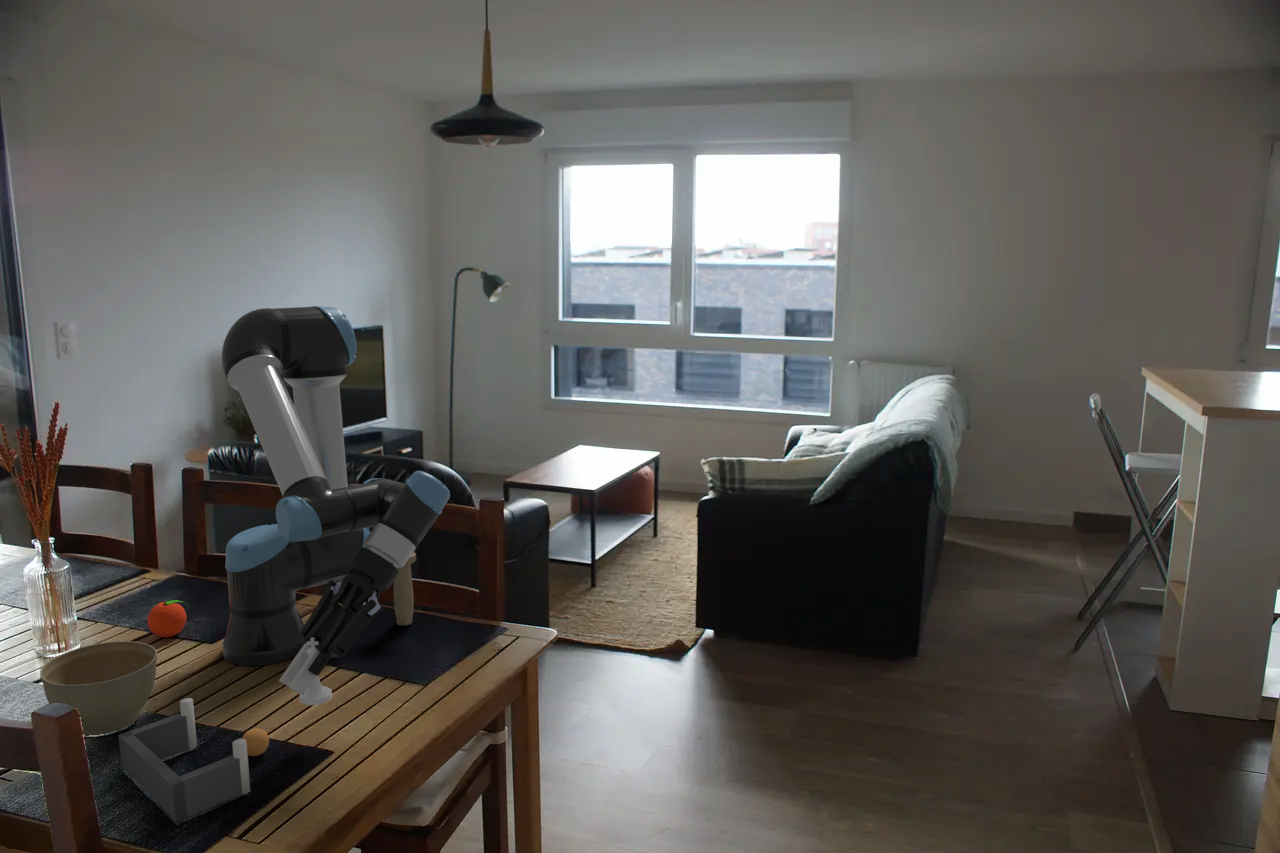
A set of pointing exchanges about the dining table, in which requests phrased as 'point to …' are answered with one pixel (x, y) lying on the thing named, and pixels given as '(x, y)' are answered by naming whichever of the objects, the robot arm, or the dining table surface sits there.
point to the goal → (190, 789)
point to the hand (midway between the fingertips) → (291, 687)
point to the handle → (404, 593)
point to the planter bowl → (102, 683)
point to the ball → (256, 741)
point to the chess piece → (315, 685)
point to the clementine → (167, 618)
